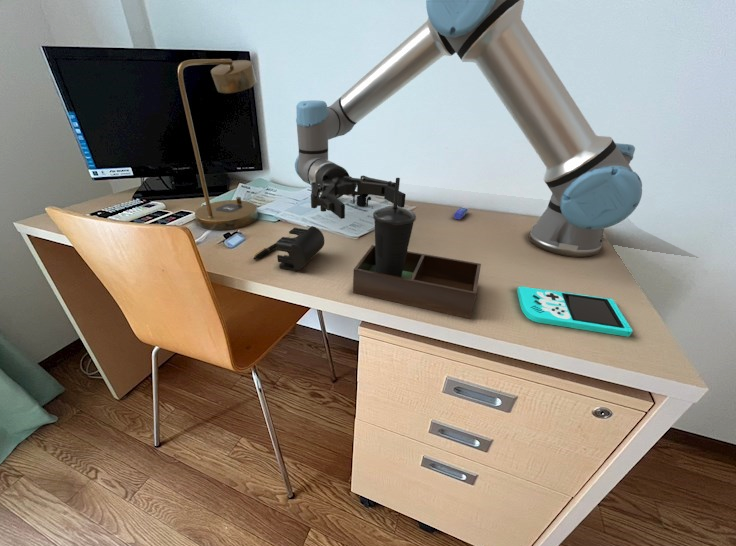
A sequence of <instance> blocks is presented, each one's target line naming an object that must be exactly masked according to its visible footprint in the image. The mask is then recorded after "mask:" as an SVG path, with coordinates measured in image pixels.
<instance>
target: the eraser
mask: <svg viewBox="0 0 736 546" xmlns="http://www.w3.org/2000/svg"><path fill="white" fill-rule="evenodd" d="M468 210H469V207H467V206H461V207H460V208H458V209H457V210H456V211H455V212H454V216H453V217H454V218H453V219H455V220H459V221H460V220H461V219H463V217H464V216H465V215H467V213H468Z"/></svg>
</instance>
